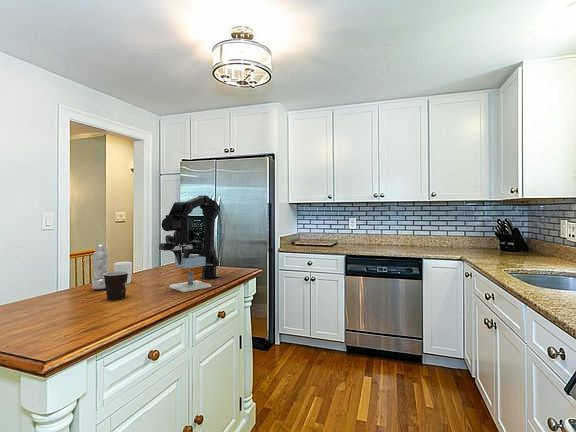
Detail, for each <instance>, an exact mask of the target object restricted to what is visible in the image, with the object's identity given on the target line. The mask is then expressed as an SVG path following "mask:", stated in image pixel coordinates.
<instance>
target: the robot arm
mask: <svg viewBox="0 0 576 432" xmlns="http://www.w3.org/2000/svg"><path fill="white" fill-rule="evenodd" d="M172 204H173V205H172V207H171V209H170V211H169V213H168V214H166V215H165V218H163V219H162V221H161V228H162V230H163V231H165V232H173V234H172V235H170V234H167V235H165V239H164V240H165V242H161V243H159V245H158V249H159V250H160V251H165V252H166V251H170V252H172V253H173V254H174V257H176V259H177V262H178V264H179V265H180V264H181V256H183V258H188V257H189V256H190V255H191V253H192V251H194V250H195V249H194V247H196V248H201V249H199V250H198V256H202V257H206V262H205V266H202V269H201V277H200V278H201V279H204V280H212V279H218V278H219V276H217V267H219V265H220V260H219V258H218V257H217V252H216V250H215V248H214V237H215V225H216V223H215V220H216V219H217V217H218V216H219V213H220V212H219V211H220V204H218V203H217V201H215V200H214V199H212V198H210V196H209V195H198V196H196V197H194V198H191V199H188V200H187V201H177V202H176V201H175V202H173V203H172ZM198 207H199V208H200V209H201V211H202V212H201V213H202V216H203V218H204V230H203V231H204V233H203V241H202V240H189V236H190V234H191V233H190V231H189V221H190V220H192V217H190V216H189V215H190V214H191V213H192V212H193V210H194V209H196V208H198ZM181 248H182V249H181ZM182 252H183V254H182Z"/></svg>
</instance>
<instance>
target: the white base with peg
mask: <svg viewBox="0 0 576 432" xmlns="http://www.w3.org/2000/svg"><path fill="white" fill-rule="evenodd" d="M169 288H170V289H172V290H173V289H174V290H176V291H179V292H182V293H186V292H191V291H192V292H193V291H196V290H202V289H206V288H212V284H211V283H207V282H204V281H201V280H194V271H193V270H191V271H187V281H185V282H179V283H174V284H169Z"/></svg>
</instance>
